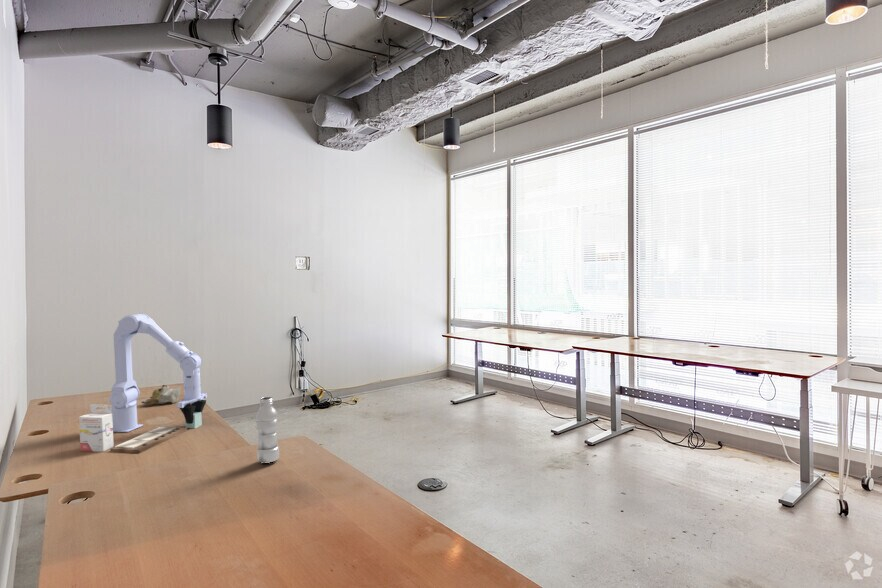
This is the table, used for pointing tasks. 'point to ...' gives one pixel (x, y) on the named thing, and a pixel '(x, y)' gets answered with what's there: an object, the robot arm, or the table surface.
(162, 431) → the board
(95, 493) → the table surface
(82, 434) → the ink cartridge box
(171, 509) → the table surface
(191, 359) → the robot arm
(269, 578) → the table surface
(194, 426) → the sage block
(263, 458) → the plastic bottle
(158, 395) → the ceramic sculpture
